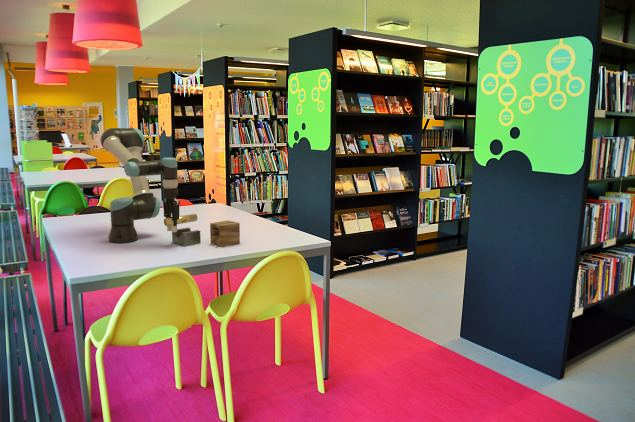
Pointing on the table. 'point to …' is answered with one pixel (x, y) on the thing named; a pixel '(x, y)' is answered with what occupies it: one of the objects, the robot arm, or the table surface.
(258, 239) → the table surface
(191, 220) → the axle
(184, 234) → the v block
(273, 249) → the table surface
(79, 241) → the table surface
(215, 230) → the wooden cube block
